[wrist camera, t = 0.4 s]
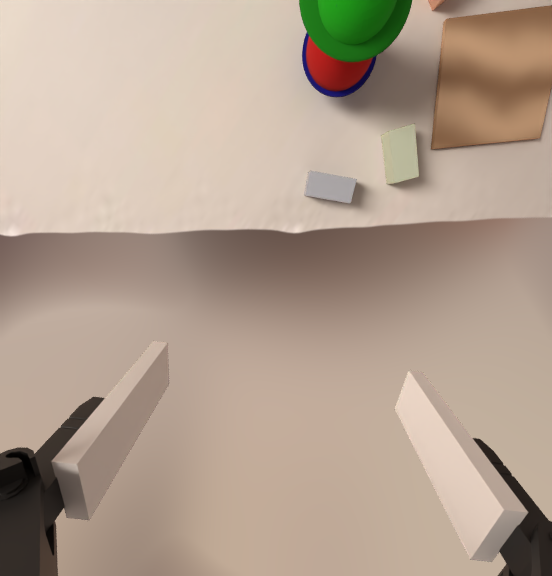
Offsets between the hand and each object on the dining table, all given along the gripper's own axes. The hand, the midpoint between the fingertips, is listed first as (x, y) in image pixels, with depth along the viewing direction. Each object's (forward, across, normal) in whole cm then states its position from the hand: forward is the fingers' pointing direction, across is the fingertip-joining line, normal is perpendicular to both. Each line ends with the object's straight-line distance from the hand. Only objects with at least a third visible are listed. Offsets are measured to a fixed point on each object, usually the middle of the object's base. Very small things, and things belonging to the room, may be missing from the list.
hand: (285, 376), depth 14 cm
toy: (+28, +3, +24) cm, 37 cm away
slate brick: (+28, +5, +10) cm, 30 cm away
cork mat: (+28, +22, +24) cm, 43 cm away
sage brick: (+28, +13, +15) cm, 34 cm away
